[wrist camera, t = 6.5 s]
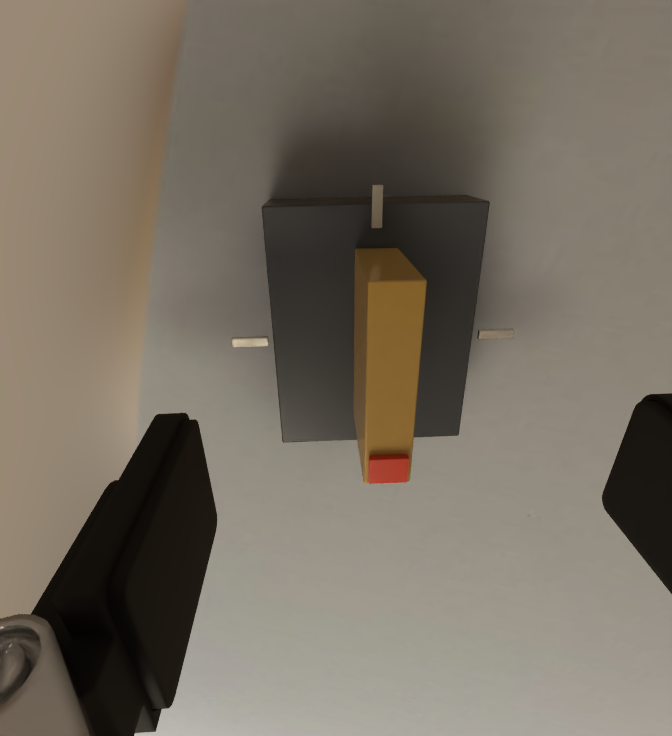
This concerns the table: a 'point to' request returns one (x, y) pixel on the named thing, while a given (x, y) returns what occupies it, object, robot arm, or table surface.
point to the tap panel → (336, 303)
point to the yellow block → (386, 361)
